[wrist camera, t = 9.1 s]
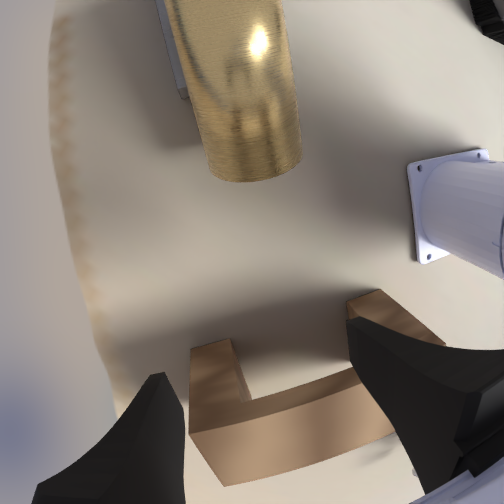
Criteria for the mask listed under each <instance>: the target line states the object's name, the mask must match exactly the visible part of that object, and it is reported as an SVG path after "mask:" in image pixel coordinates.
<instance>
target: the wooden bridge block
mask: <svg viewBox="0 0 504 504" xmlns="http://www.w3.org/2000/svg"><path fill="white" fill-rule="evenodd" d="M346 303H347V310H348V318H349V320H350V319H353V318H356V317H358V316H361V317H364V318H366V319H369V320H371V321H373V322H375V323H378V324H380V325H382V326H384V327H387V328H389V329H392V330H394V331H396V332H399V333H401V334H404V335H407V336H410V337H413V338H416V339H419V340H422V341H425V342H429V343H433V344H437V345H442V346H446V343H445V342H443V341H442V340H441V339H440V338H439V337H438V336H436V335H435V334H434V333H433V332H432V331H431V330H429V329H428V328H427V327H426V326H425V325H424V324H422V323H421V322H420V321H419V320H418V319H416V318H415V317H414V316H413V315H412V314H410V313H409V312H408V311H407V310H406V309H404V308H403V307H402V306H401V305H400V304H398V303H397V302H396V301H395V300H393V299H392V298H391V297H390V296H389V295H387V294H386V293H385V292H384V291H382V290H381V289H380V290H377V291H374V292H371V293H369V294H366V295H363V296H361V297H358V298H355V299H352V300H349V301H347V302H346ZM393 432H395V429H394V427H393V426H392V424H391V422H390V421H389V419H388V418H387V416H386V415H385V414H384V412H383V411H382V409H381V408H380V407H379V405H378V404H377V403H376V401H375V400H374V399H373V397H372V396H371V394H370V393H369V392H368V390H367V389H366V388H365V386H364V385H363V383H362V382H361V381H360V379H359V377H358V375H357V373H356V371H355V370H354V368H353V367H351V368H348V369H346V370H343V371H340V372H338V373H335V374H332V375H329V376H327V377H324V378H321V379H318V380H315V381H312V382H309V383H306V384H303V385H300V386H297V387H294V388H291V389H288V390H285V391H281V392H278V393H275V394H271V395H268V396H265V397H261V398H258V399H254V400H252V398H251V394H250V392H249V389H248V386H247V384H246V381H245V378H244V376H243V373H242V370H241V368H240V365H239V362H238V359H237V357H236V354H235V351H234V348H233V346H232V343H231V340H230V339H226V340H222V341H219V342H215V343H211V344H208V345H204V346H200V347H196V348H192V349H191V356H190V384H189V436H190V437H191V439H192V440H193V442H194V444H195V445H196V447H197V448H198V450H199V451H200V453H201V454H202V456H203V457H204V459H205V460H206V462H207V463H208V465H209V466H210V468H211V469H212V471H213V472H214V473H215V475H216V476H217V478H218V479H219V481H220V482H221V483H222V485H223V486H224V487H226V486H231V485H236V484H241V483H245V482H250V481H254V480H259V479H263V478H267V477H271V476H274V475H278V474H282V473H285V472H289V471H292V470H296V469H299V468H302V467H306V466H309V465H312V464H315V463H318V462H321V461H324V460H327V459H330V458H332V457H335V456H338V455H341V454H343V453H346V452H349V451H351V450H354V449H356V448H359V447H361V446H364V445H366V444H368V443H371V442H373V441H375V440H378V439H380V438H382V437H384V436H387V435H389V434H391V433H393Z"/></svg>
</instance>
